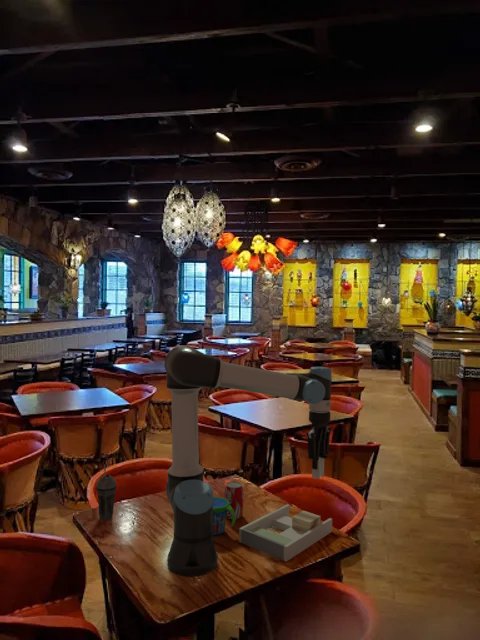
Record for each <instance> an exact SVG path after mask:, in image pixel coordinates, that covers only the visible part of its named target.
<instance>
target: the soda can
mask: <svg viewBox="0 0 480 640" xmlns="http://www.w3.org/2000/svg"><path fill="white" fill-rule="evenodd" d="M244 494H245V493H244V488H243V484H242V483H241V482H238V481H230V482H227V483H226V486H225V488H224V498H225V499H227V500H228V501H229V505H230V506H231V507H232V508H233V510H234V513H235V520H238V519H240V518H241V517H243V513H244ZM227 519H229V520H232V516H231V512H230V511H228V512H227Z"/></svg>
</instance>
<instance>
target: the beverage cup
mask: <svg viewBox="0 0 480 640" xmlns="http://www.w3.org/2000/svg"><path fill="white" fill-rule="evenodd" d="M106 469H107V468H106V464H103V471H104V473H103V474H104V475H102V476H101V477H100V478H98V480H97V482H96V487H95V488H96V492H97V503H98V517H99V521H104V522H105V521H107V522H108V521H110V520H112V519H113V514H114V507H115V499H116V490H117V487H118V486H117V480H116V479H115V477H113V476H112V475H110V474H107V472H106V471H107V470H106Z"/></svg>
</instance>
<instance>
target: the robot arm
mask: <svg viewBox="0 0 480 640" xmlns="http://www.w3.org/2000/svg"><path fill="white" fill-rule="evenodd" d="M164 370H165V373H166V375H165V376H166V389H167V390H168V391H169V393H171V450H172V452H171V453H172V455H171V456H172V458H171V459H172V465H171V466H170V467H169V468H168V469H167V482H166V487H165V490H166V491H165V492H166V497H167V499H168V501H169V504H170V506H171V509H172V512H173V539H172V542H171V546H170V549H169V551H168V553H167V561H166V562H167V563H166V564H167V565H166V566H167V567H168V570H170V571H172V573H174V574H178V575H181V576H190V577H192V576H195V577H196V576H201V575H205V574H209V573H210V572H212V571H214V570H215V569H216V567H218V562H219V561H218V552H217V549H216V546H215V542H214V539H213V535H212V526H213V502H214V497H215V496H214V491H213V488H212V486H211V485H210V484H209V483H208V482H206V481H205V480H204V468H203V466H202V465H200V463H199V462H200V461H199V391H201V389H202V388H204V389H205V388H206V389H213V390H214V389H215V390H216V389H217V388H218V387H221V388H225V389H226V388H228V389H234V390H239V391H245V392H250V393H258V394H262V395H269V396H272V397H273V396H274V397H278V398H279V397H281V398H285V399H291V400H297V401H302V402H306V403H307V404H308V410H309V411H308V421H309V422H310V424H311V427H310V430H309V431H306V438H307V452H308V453H307V455H308V459H309V460H311V462H312V463H311V465H312V466H311V468H312V469H311V478H313V479H316V480H320V478H321V477H322V478H324V477H325V459H328V456H329V449H330V438H331V433H332V427H331V426H328V424H329V423H330V422H331V412H330V411H331V406H332V402H331V399H332V381H333V380H332V370H331V368H329V367H326V366H311V367H310V368H309V372H304V373H302V372H294V373H293V372H292V373H290V372H286V373H283V372H278V371H274V370H273V371H272V370H269V369H268V370H267V369H264V368H256V367H251V366H247V365H241V364H236V363H231V362H226V361H223V360H222V358H221V357H216V356H212V355H209V354H207V353H204V352H202V351H199V350H198V349H197V348H196V349H195V348H194V347H193V346H189V345H184V344H183V345H178V346H175V347H173V348H172V349H171V350H170V351H168V353H167V354H166V356H165V358H164Z"/></svg>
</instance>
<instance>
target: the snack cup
mask: <svg viewBox="0 0 480 640" xmlns="http://www.w3.org/2000/svg"><path fill="white" fill-rule="evenodd" d="M228 511H230V512H231V516H232V519H231V523H230V526H231V527H233V526H234V525H235V523H236V519H235V513H234V510H233V508H232V507H231V506H230V505H229V501H228V500H227V499H225V497H220V496H214V502H213V526H212V536H218V535H221V534H223V533H224V532H225V530H226V524H227V519H228V518H227V512H228Z"/></svg>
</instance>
